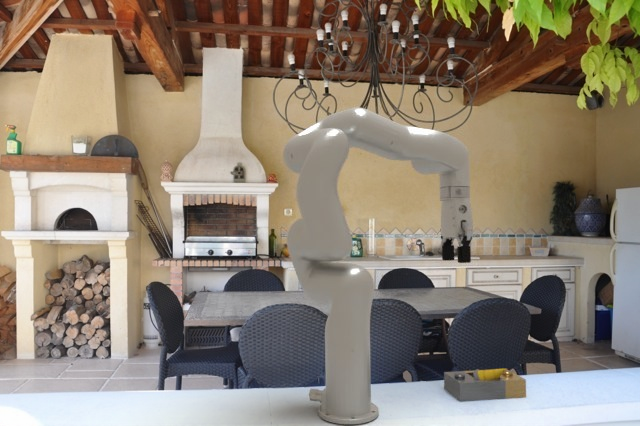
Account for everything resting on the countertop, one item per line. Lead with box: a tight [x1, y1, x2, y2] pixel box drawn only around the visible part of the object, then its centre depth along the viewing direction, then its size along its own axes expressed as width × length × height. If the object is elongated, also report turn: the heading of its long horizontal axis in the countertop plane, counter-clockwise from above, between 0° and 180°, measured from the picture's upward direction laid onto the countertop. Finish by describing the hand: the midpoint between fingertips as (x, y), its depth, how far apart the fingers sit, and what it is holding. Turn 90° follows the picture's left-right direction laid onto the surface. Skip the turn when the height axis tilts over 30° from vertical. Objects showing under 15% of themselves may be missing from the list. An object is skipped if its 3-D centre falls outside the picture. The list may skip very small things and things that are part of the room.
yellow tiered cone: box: [472, 368, 508, 380], centre depth 118 cm, size 5×5×10 cm
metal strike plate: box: [443, 369, 527, 402], centre depth 119 cm, size 16×9×5 cm, turn 99°
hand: (456, 261), depth 129 cm, fingers open, 9 cm apart
